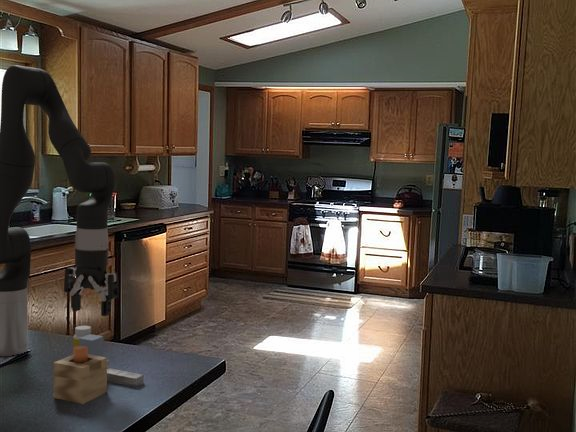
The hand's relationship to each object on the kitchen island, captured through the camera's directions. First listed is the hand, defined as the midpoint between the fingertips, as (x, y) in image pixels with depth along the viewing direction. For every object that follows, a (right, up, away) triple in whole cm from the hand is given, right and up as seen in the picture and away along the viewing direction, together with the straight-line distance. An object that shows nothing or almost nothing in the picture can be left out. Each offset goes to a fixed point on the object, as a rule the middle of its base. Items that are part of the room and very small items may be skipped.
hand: (90, 313), depth 157 cm
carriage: (0, -15, +1) cm, 15 cm away
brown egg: (+1, -9, -12) cm, 15 cm away
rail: (+4, -16, 0) cm, 16 cm away
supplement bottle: (-6, -14, +14) cm, 21 cm away
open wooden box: (+1, -17, -11) cm, 20 cm away
